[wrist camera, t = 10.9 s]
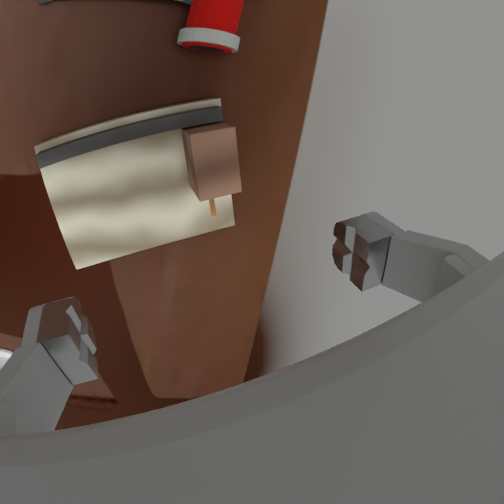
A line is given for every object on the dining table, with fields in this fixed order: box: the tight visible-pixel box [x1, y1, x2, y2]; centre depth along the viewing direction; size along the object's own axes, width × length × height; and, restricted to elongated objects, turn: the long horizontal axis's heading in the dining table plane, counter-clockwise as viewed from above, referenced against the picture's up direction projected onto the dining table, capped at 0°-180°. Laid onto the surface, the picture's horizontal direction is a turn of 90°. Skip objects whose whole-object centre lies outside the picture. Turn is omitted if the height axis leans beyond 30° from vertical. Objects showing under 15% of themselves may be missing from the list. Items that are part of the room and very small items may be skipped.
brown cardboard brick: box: [181, 121, 242, 202], centre depth 32 cm, size 7×4×5 cm, turn 6°
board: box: [34, 98, 235, 269], centre depth 33 cm, size 16×21×4 cm
